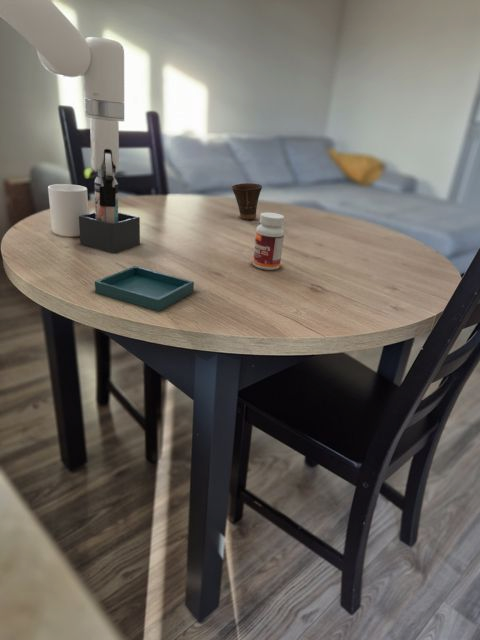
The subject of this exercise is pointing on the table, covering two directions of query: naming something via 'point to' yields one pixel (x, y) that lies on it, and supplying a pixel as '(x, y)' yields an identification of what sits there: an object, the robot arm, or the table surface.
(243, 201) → the cup
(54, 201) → the mug
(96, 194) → the beer can
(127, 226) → the bin
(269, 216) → the pill bottle
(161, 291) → the tray
